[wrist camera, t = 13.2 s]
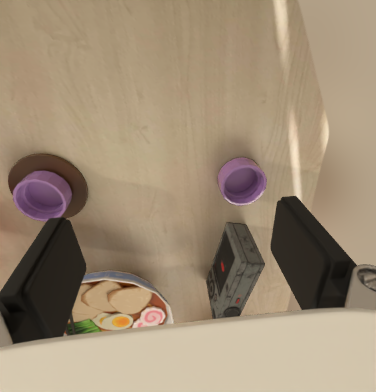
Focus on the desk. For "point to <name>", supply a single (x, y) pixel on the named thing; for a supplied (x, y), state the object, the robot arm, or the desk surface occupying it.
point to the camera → (233, 271)
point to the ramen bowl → (116, 304)
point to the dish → (241, 181)
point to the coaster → (58, 167)
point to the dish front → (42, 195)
